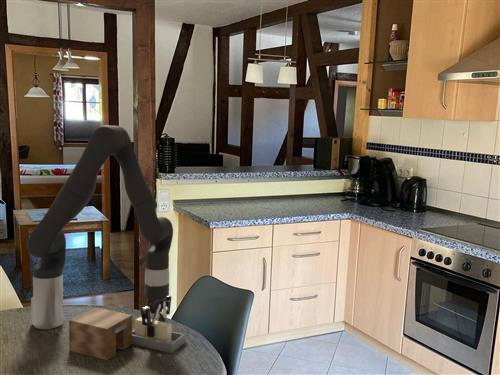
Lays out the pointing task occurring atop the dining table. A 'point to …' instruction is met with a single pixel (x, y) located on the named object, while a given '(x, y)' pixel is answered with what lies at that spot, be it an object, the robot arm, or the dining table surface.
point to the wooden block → (100, 333)
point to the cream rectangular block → (160, 333)
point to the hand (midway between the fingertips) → (156, 332)
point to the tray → (160, 342)
